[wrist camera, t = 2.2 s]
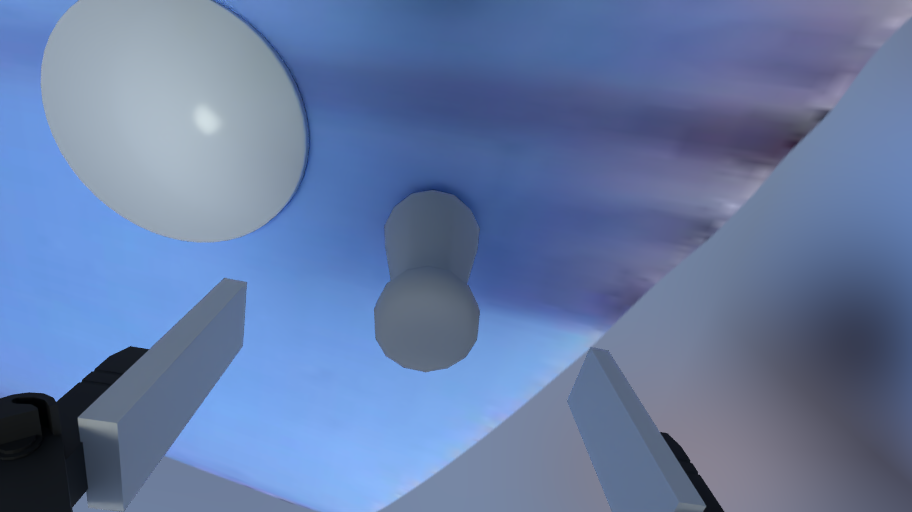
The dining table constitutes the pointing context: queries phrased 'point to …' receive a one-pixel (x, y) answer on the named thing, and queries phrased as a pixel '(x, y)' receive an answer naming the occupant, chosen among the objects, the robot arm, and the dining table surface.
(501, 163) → the dining table surface
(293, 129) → the ceramic plate
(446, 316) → the salt shaker
